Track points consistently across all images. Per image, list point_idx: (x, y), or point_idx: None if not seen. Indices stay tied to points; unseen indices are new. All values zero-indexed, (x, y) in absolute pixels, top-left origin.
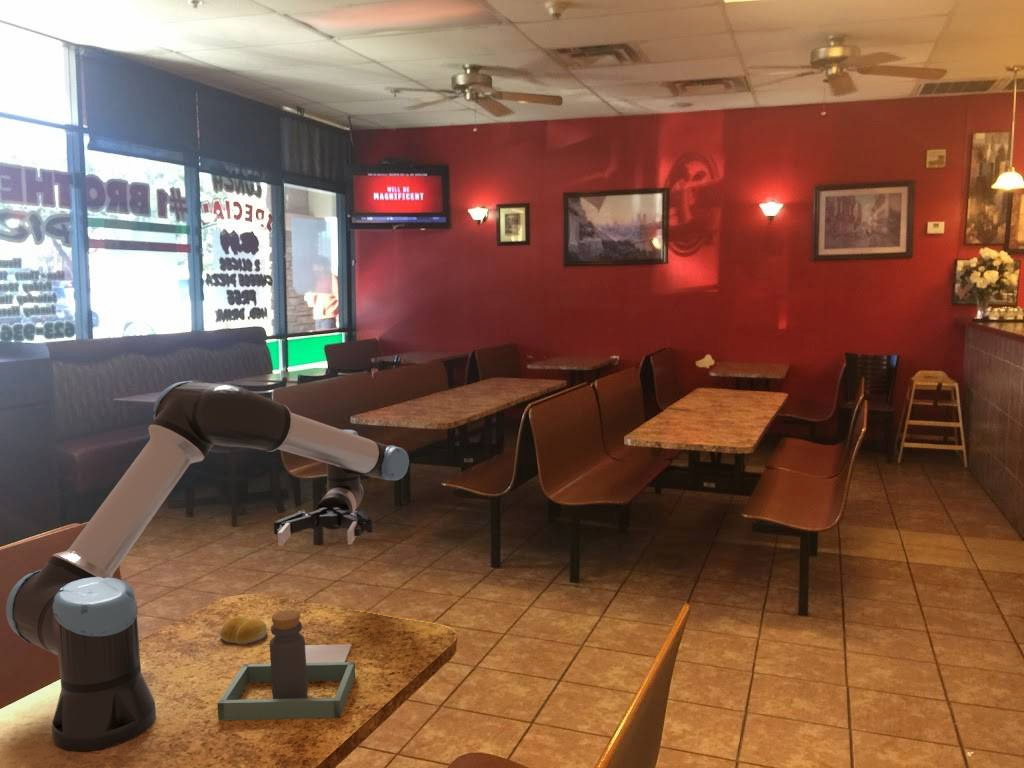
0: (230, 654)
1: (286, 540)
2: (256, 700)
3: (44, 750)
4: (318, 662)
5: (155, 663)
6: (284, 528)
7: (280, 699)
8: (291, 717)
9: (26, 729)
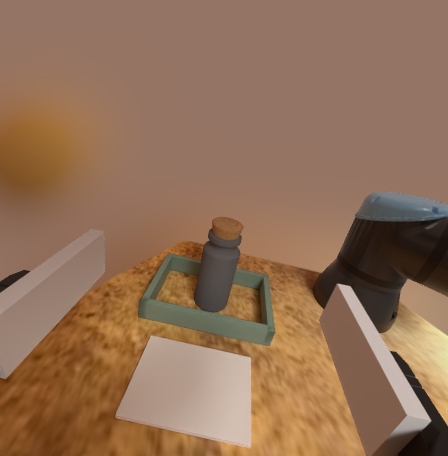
0: (330, 441)
1: (337, 369)
2: (237, 269)
3: None
4: (181, 358)
5: None
6: (359, 321)
7: None
8: None
9: (409, 315)
